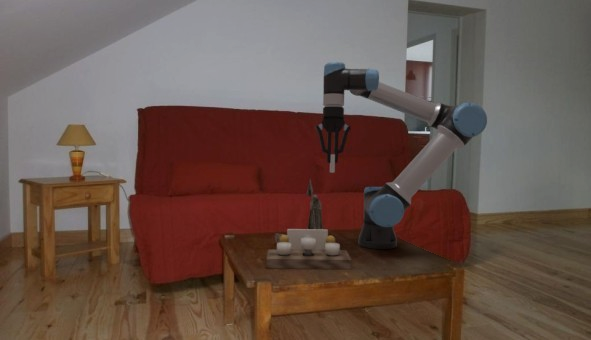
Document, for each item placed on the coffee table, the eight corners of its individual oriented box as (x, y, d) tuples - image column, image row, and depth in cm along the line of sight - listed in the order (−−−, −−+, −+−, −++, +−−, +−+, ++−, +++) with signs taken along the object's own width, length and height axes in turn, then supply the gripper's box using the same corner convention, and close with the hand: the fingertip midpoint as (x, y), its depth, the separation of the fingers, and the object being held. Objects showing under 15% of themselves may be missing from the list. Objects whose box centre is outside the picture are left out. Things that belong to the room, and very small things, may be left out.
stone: (284, 250, 158) (284, 237, 158) (272, 243, 169) (273, 231, 168) (306, 248, 162) (306, 235, 162) (293, 242, 173) (293, 229, 172)
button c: (291, 259, 144) (291, 242, 143) (291, 263, 139) (291, 245, 139) (276, 259, 144) (277, 242, 143) (276, 263, 139) (276, 245, 138)
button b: (314, 254, 144) (315, 237, 143) (315, 258, 139) (316, 240, 139) (300, 254, 144) (300, 237, 143) (301, 258, 139) (301, 240, 138)
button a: (338, 259, 144) (338, 242, 144) (340, 264, 139) (340, 246, 139) (324, 259, 144) (324, 242, 144) (325, 263, 139) (325, 246, 139)
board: (345, 258, 148) (346, 250, 148) (351, 269, 136) (351, 259, 136) (268, 258, 147) (268, 249, 147) (266, 268, 135) (266, 258, 135)
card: (334, 258, 149) (335, 229, 148) (334, 258, 147) (335, 230, 147) (279, 257, 148) (279, 228, 147) (279, 258, 147) (279, 229, 146)
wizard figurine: (302, 241, 173) (304, 179, 172) (298, 236, 182) (300, 178, 180) (327, 240, 175) (328, 179, 174) (322, 235, 184) (323, 178, 182)
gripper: (350, 107, 157) (348, 171, 159) (314, 107, 157) (313, 171, 158) (353, 106, 150) (351, 173, 151) (316, 105, 149) (314, 172, 151)
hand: (332, 172), depth 155 cm, fingers closed
